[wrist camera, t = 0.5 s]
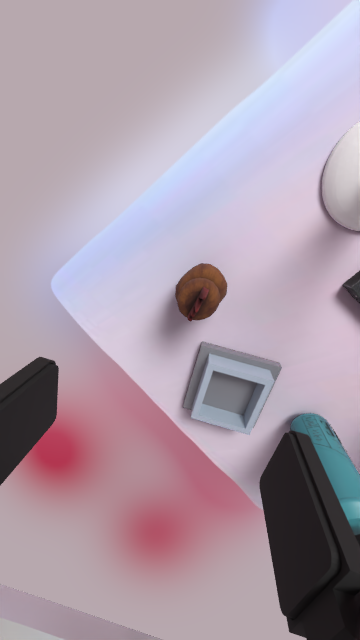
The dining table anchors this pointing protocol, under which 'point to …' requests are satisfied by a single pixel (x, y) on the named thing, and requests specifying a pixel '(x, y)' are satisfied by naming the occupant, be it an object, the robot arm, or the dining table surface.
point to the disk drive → (354, 286)
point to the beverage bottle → (334, 465)
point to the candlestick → (344, 180)
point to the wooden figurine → (200, 291)
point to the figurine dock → (229, 387)
